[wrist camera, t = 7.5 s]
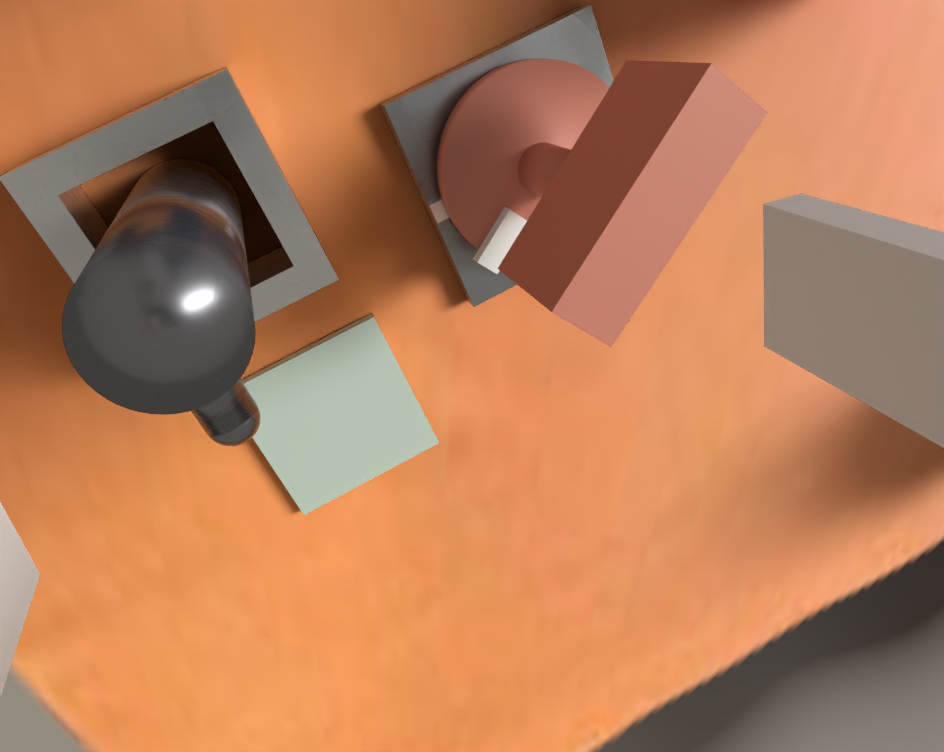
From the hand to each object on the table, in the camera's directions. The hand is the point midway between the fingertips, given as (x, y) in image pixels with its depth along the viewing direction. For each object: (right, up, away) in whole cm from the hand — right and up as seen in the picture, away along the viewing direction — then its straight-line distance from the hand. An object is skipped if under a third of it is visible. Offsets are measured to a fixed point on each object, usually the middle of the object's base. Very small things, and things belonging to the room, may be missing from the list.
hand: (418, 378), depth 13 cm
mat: (-5, -2, +22) cm, 23 cm away
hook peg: (-10, +6, +17) cm, 21 cm away
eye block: (-10, +6, +17) cm, 21 cm away
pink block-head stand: (+3, +8, +19) cm, 21 cm away
